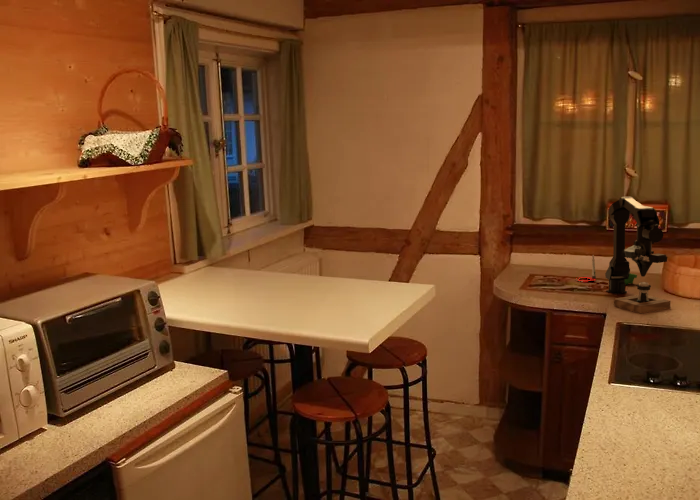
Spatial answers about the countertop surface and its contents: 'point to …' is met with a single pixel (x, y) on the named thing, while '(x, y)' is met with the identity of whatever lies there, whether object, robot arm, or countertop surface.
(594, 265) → the red grey looped piece
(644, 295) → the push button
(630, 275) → the clamp
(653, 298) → the holder block
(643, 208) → the robot arm
